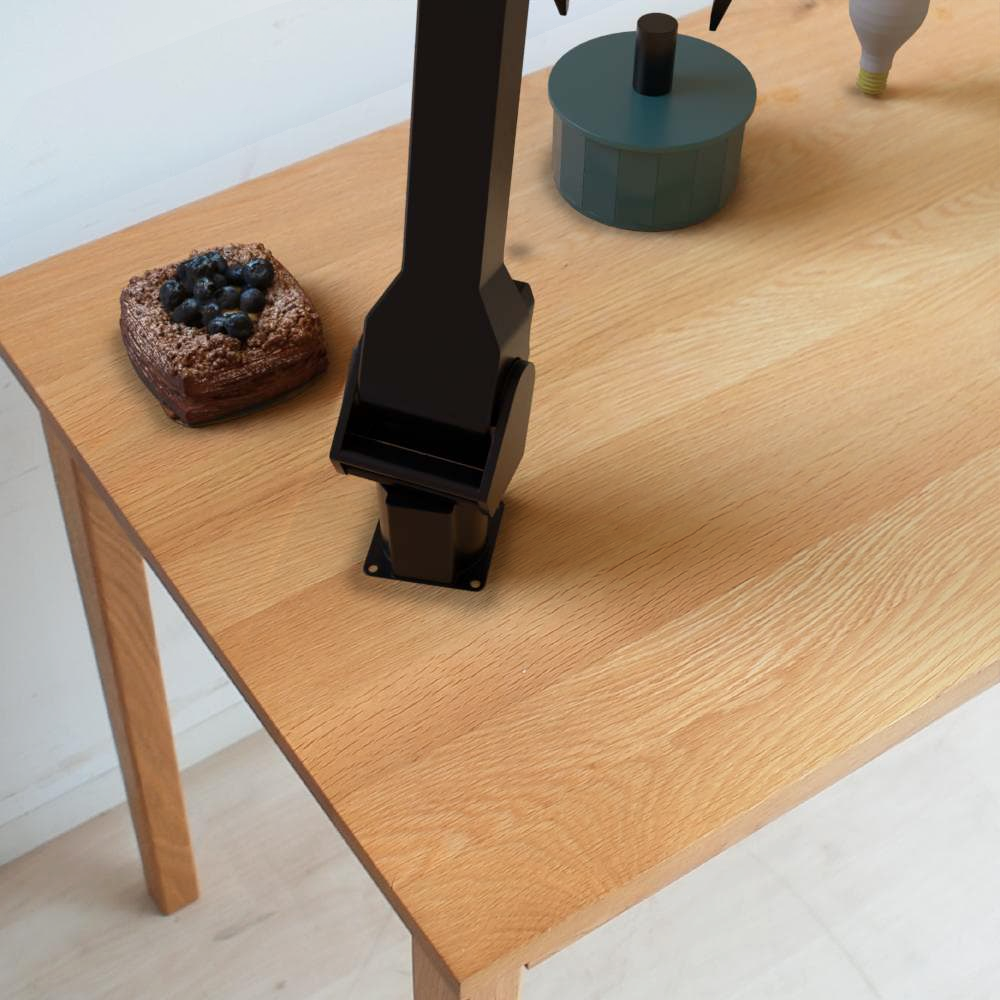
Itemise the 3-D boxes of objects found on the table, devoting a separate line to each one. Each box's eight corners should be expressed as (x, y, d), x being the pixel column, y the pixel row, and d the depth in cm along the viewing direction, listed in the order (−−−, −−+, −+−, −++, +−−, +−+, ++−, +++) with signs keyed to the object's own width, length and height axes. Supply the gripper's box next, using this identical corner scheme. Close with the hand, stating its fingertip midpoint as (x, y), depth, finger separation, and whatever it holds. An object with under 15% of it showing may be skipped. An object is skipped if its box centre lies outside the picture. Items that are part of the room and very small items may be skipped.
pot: (728, 241, 95) (741, 158, 90) (538, 219, 96) (540, 136, 91) (743, 132, 103) (755, 50, 98) (568, 113, 104) (571, 31, 99)
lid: (746, 172, 90) (759, 93, 85) (531, 148, 91) (532, 70, 87) (761, 55, 99) (773, -22, 94) (564, 35, 100) (567, -41, 96)
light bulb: (817, 83, 107) (841, -45, 99) (878, 66, 108) (906, -62, 101) (859, 121, 104) (887, -8, 96) (922, 103, 105) (954, -26, 98)
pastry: (181, 445, 82) (163, 370, 78) (103, 326, 89) (82, 250, 85) (352, 375, 86) (344, 299, 82) (265, 265, 93) (253, 190, 88)
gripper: (841, -289, 82) (797, -29, 93) (516, -314, 84) (513, -57, 95) (833, -210, 74) (787, 62, 86) (477, -239, 77) (479, 30, 88)
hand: (638, 20), depth 89 cm, fingers open, 9 cm apart
